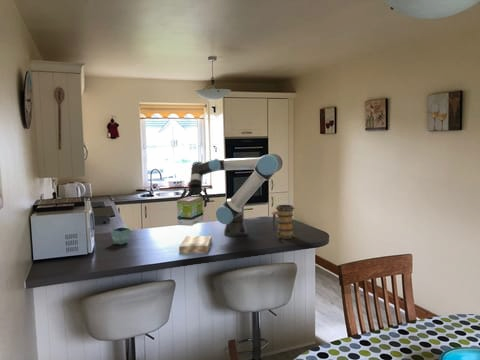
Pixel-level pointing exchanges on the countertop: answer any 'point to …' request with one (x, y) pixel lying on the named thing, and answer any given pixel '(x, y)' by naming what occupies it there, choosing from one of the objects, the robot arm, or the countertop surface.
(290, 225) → the mug
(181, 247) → the birch stand
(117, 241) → the flower pot
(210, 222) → the countertop surface
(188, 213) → the tea box
